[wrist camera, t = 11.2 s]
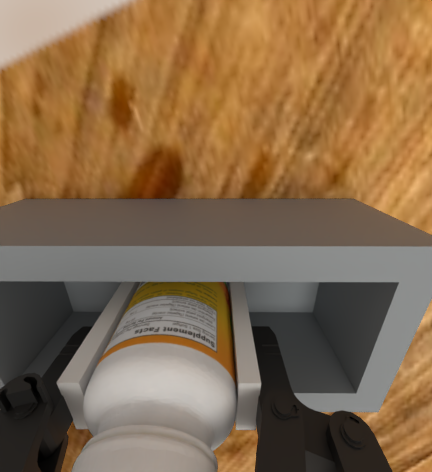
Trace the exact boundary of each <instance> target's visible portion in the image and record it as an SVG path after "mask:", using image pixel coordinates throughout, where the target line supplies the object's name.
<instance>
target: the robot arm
mask: <svg viewBox="0 0 432 472" xmlns="http://www.w3.org/2000/svg"><path fill="white" fill-rule="evenodd" d="M139 284H140V282H122V283H121V284H120V286H119V287H118V289H117V290H116V292H115V294H114V295H113V297H112V298H111V300H110V301H109V303H108V304H107V306H106V307H105V309H104V310H103V312H102V313H101V315H100V317H99V318H98V320H97V321H96V323H95V324H94V326H83V327H82V328H80V329H79V330H78V331H77V332H76V333H74V334H73V335H72V336H71V338H70V339H69V341H68V342H67V343H66V345H65V347H63V349H62V350H61V352H60V354H59V355H58V356H57V357H56V358H55V360H54V361H53V363H52V364H51V365H50V367H49V368H48V369H47V371H46V372H45V374H44V375H43V376H42V378H41V377H40V375H38V374H36V373H27V374H24V375H21V376H18V377H16V378H15V379H13V380H11V381H9V382H8V383H7V384H6V385H4V386H3V387H2V388H1V389H0V409H1V410H0V472H61V468H62V464H63V460H64V457H65V453H66V449H67V445H68V435H67V431H68V429H69V427H70V425H71V423H72V421H73V422H74V425H75V427H76V429H88V427H87V425H86V421H85V418H84V412H83V402H84V396H85V392H86V389H87V386H88V384H89V381H90V379H91V377H92V375H93V373H94V371H95V368H96V366H97V364H98V362H99V360H100V358H101V356H102V355H103V353H104V351H105V349H106V347H107V345H108V343H109V341H110V339H111V338H112V336H113V334H114V332H115V330H116V328H117V326H118V324H119V322H120V320H121V318H122V317H123V315H124V313H125V311H126V309H127V307H128V305H129V303H130V301H131V299H132V297H133V295H134V294H135V292H136V290H137V288H138V286H139ZM229 297H230V309H231V322H232V335H233V350H234V363H235V377H236V390H237V414H236V419H235V421H236V430H256V425H257V432H258V444H257V452H256V465H255V472H392V470H391V468H390V466H389V463H388V461H387V459H386V457H385V455H384V453H383V451H382V449H381V447H380V445H379V443H378V441H377V439H376V437H375V435H374V434H373V432H372V431H371V429H370V428H369V426H368V425H367V424H366V423H365V422H364V421H363V420H362V419H361V418H360V417H358V416H357V415H355V414H353V413H351V412H348V411H344V410H341V411H336V412H335V413H333V414H332V415H331V416H329V415H326V414H324V413H321V412H318V411H315V410H313V409H311V408H308V407H307V406H305V405H304V404H303V403H301V402H300V401H299V400H298V399H297V397H296V396H295V394H294V393H293V391H292V388H291V386H290V382H289V379H288V375H287V372H286V369H285V365H284V362H283V358H282V355H281V351H280V348H279V345H278V341H277V338H276V335H275V333H274V332H273V331H272V330H271V328H270V327H269V326H251V323H250V317H249V311H248V306H247V300H246V294H245V289H244V283H243V282H229Z"/></svg>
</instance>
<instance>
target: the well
mask: <svg viewBox="0 0 432 472" xmlns="http://www.w3.org/2000/svg"><path fill="white" fill-rule="evenodd" d="M122 282H227V284H228V289H229V282H243V283H244V289H245V294H246V300H247V306H248V311H249V317H250V323H251V326H269V327H270V328H271V330H272V331H273V332H274V333H275V335H276V338H277V341H278V345H279V348H280V351H281V355H282V358H283V362H284V365H285V369H286V372H287V375H288V379H289V382H290V386H291V388H292V391H293V393H294V394H295V396H296V397H297V399H298V400H299V401H300V402H301V403H303V404H304V405H305V406H307V407H308V408H311V409H313V410H315V411H318V412H336V411H341V410H344V411H348V412H379V410H380V408H381V405H382V403H383V401H384V399H385V397H386V395H387V393H388V391H389V388H390V386H391V384H392V382H393V380H394V378H395V376H396V374H397V371H398V369H399V367H400V365H401V363H402V361H403V359H404V357H405V354H406V352H407V350H408V348H409V346H410V344H411V342H412V340H413V337H414V335H415V333H416V331H417V329H418V327H419V325H420V323H421V320H422V318H423V316H424V314H425V312H426V310H427V308H428V306H429V303H430V301H431V299H432V235H430V234H428V233H426V232H424V231H422V230H420V229H417V228H415V227H413V226H411V225H409V224H407V223H405V222H402V221H400V220H398V219H396V218H394V217H392V216H390V215H387V214H385V213H383V212H381V211H379V210H377V209H374V208H372V207H370V206H368V205H366V204H364V203H362V202H359V201H357V200H355V199H23V200H20V201H17V202H14V203H11V204H8V205H5V206H2V207H0V389H1V388H2V387H3V386H4V385H6V384H7V383H8V382H9V381H11V380H13V379H15V378H16V377H18V376H21V375H24V374H27V373H36V374H38V375H40V377H41V378H42V376H43V375H44V374H45V372H46V371H47V369H48V368H49V367H50V365H51V364H52V363H53V361H54V360H55V358H56V357H57V356H58V355H59V354H60V352H61V350H62V349H63V347H65V345H66V343H67V342H68V341H69V339H70V338H71V336H72V335H73V334H74V333H76V332H77V331H78V330H79V329H80V328H82V327H83V326H94V324H95V323H96V321H97V320H98V318H99V317H100V315H101V313H102V312H103V310H104V309H105V307H106V306H107V304H108V303H109V301H110V300H111V298H112V297H113V295H114V294H115V292H116V290H117V289H118V287H119V286H120V284H121V283H122ZM0 410H1V409H0Z"/></svg>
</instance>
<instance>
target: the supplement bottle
mask: <svg viewBox="0 0 432 472" xmlns="http://www.w3.org/2000/svg"><path fill="white" fill-rule="evenodd" d="M83 412H84V418H85V421H86V425H87V427H88V429H89V431H90V433H91V434H92V436H93V438H91V439H90V440H89V441H88V442H87V444H86V445H85V446H84V448H83V449H82V452H81V454H80V455H79V456H78V457H77V459H76V461H75V463H74V465H73V468H72V471H71V472H217V469H218V465H217V459H216V457H215V455H214V453H213V451H214V450H215V449H216V448H218V447H219V446H220V445H221V444H222V443H223V442H224V441H225V439H226V438H227V437H228V435H229V434H230V432H231V430H232V428H233V425H234V422H235V419H236V414H237V390H236V377H235V363H234V350H233V335H232V322H231V309H230V297H229V289H228V284H227V282H140V284H139V286H138V288H137V290H136V292H135V294H134V295H133V297H132V299H131V301H130V303H129V305H128V307H127V309H126V311H125V313H124V315H123V317H122V318H121V320H120V322H119V324H118V326H117V328H116V330H115V332H114V334H113V336H112V338H111V339H110V341H109V343H108V345H107V347H106V349H105V351H104V353H103V355H102V356H101V358H100V360H99V362H98V364H97V366H96V368H95V371H94V373H93V375H92V377H91V379H90V381H89V384H88V386H87V389H86V392H85V396H84V402H83Z"/></svg>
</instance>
